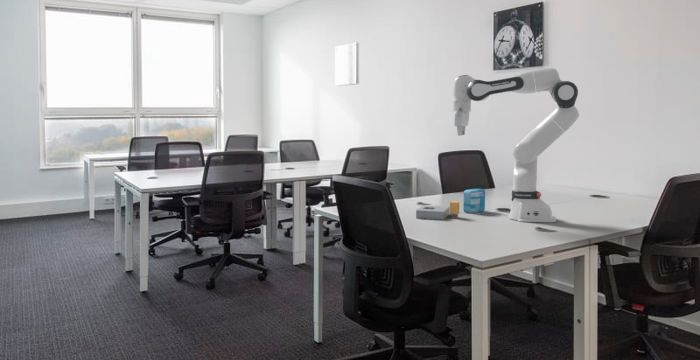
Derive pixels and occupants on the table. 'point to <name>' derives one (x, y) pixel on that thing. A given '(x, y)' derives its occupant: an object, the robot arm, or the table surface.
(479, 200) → the data package
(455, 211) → the plug
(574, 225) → the table surface
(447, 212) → the socket box
